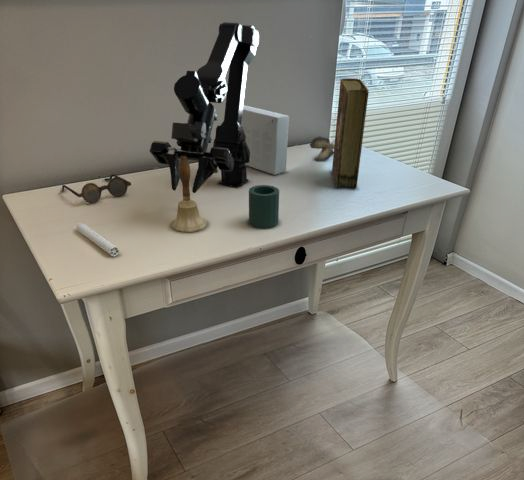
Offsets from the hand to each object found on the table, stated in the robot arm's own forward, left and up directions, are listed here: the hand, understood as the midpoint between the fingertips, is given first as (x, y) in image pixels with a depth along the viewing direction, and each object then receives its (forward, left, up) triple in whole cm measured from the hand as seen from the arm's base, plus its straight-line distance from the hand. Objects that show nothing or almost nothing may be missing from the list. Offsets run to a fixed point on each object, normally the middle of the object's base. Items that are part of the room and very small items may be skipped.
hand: (183, 191), depth 112 cm
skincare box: (-9, +49, -9) cm, 51 cm away
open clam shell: (+5, +68, -9) cm, 69 cm away
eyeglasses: (-35, +6, -9) cm, 37 cm away
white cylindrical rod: (-13, -17, -9) cm, 23 cm away
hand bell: (0, +1, -9) cm, 9 cm away
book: (+19, +51, -9) cm, 55 cm away
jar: (+14, +12, -9) cm, 20 cm away
